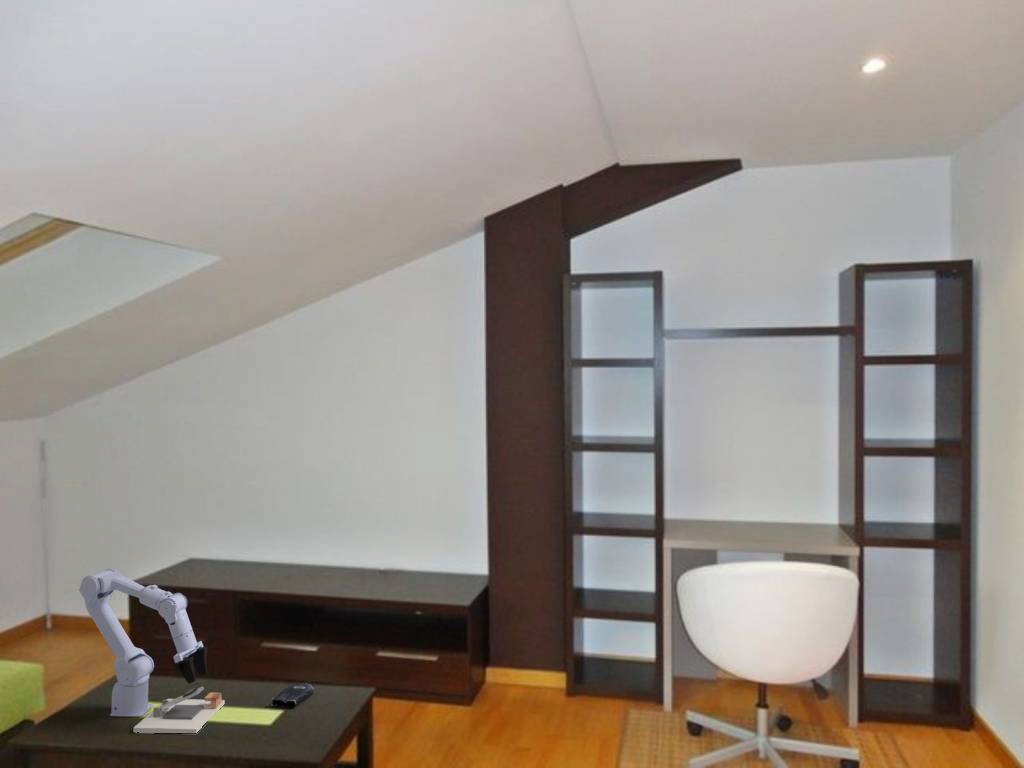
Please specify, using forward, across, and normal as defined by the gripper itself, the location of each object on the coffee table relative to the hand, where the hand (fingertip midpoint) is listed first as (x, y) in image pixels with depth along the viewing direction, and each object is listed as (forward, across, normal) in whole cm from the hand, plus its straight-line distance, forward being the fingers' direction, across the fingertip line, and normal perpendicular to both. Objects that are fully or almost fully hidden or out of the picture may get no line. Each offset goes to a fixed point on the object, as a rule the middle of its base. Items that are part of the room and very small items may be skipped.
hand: (197, 678), depth 225 cm
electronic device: (+20, +16, -18) cm, 31 cm away
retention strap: (+4, 0, +7) cm, 8 cm away
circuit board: (+9, 0, +9) cm, 13 cm away
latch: (+10, +5, +1) cm, 11 cm away
